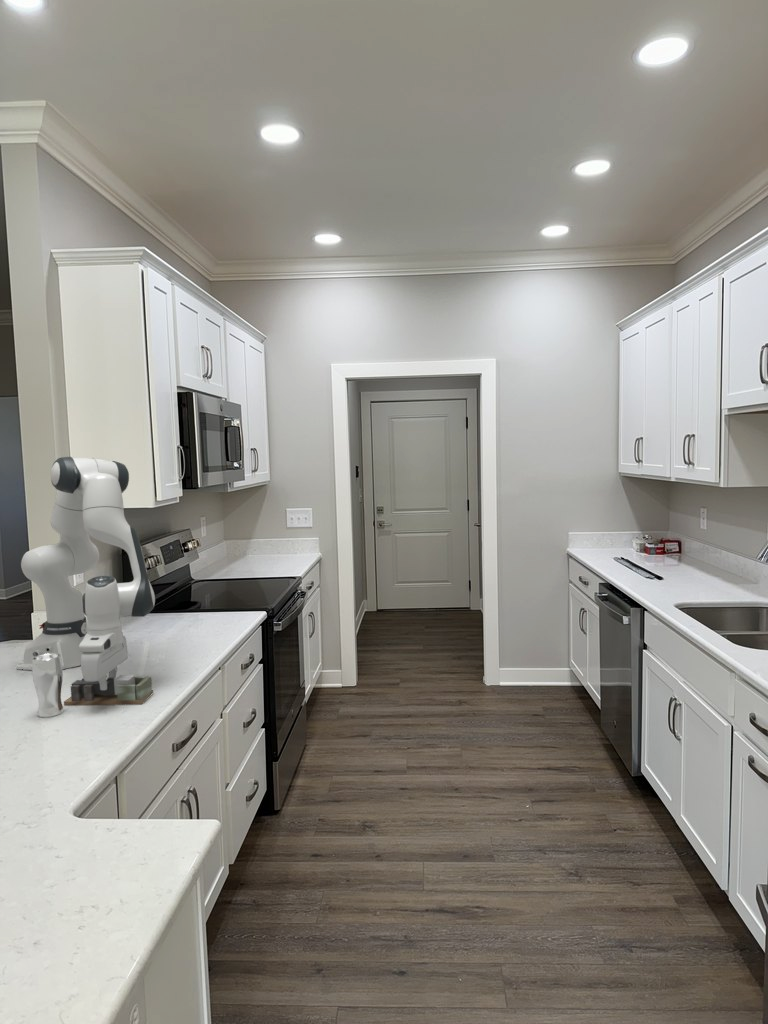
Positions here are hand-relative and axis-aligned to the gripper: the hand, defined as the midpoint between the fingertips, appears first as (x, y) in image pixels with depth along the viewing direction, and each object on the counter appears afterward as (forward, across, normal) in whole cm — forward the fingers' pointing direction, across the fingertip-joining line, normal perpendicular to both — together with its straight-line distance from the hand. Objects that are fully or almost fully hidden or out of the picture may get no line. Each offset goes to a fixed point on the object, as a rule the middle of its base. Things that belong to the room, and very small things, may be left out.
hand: (108, 686), depth 185 cm
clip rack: (+4, 0, 0) cm, 4 cm away
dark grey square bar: (+2, 0, -2) cm, 3 cm away
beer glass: (+4, +9, -11) cm, 15 cm away
